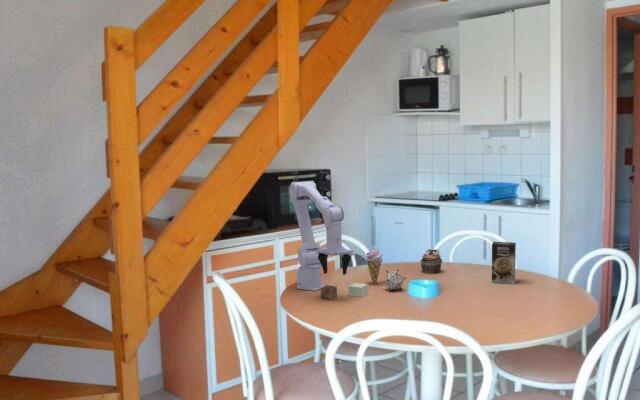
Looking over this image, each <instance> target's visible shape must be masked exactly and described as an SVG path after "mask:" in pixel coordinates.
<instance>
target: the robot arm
mask: <svg viewBox="0 0 640 400" xmlns="http://www.w3.org/2000/svg"><path fill="white" fill-rule="evenodd" d="M288 191H289V192H288V193H289V196H290V201H291V204H293V205H294V210H295V213H296V219H297V224H298V227H299V232H300V237H301V238H300V239H301V243H302V245H300V246H299V248H298V249H297V260H298V265H300V266H298V268H297V271H296V281H297V282H296V284H297V286H296V289H298V290H299V289H300V290H307V291H313V292H314V291H318V290H321V288H322V287H324V286H326V284H322V271H323V274H324V275H326V274H328V256H340V257H341V263H342V275H343V276H345V275H346V274H347V273H348V271H347V270H348V266H349V263H350V261H351V259H352V257H353V256H354V250H353V249H344V248H343V244H342V243H343V241H342V221H344V217H345V211H344V209H343V208H342V206H340V205H335V204H334V203H333V202H332V201H331V200H330V199H329V197H328V196H322V195H321V194H320V192H319V191H318V189H317V184H316V183H315V181H314V180H305V181H292V182H291V183H290V185H289V189H288ZM311 202H314V203H315V208H316V209H317V210H318V212H320V214H321V215H322V219H323V222H324V227H325V233H326V248H322V245H321V244H319V243H317V241H316V240H315V236H314V232H313V228H312V223H311V217H310V213H309V209H308V204H309V203H311ZM321 267H322V268H321ZM321 269H322V271H321Z"/></svg>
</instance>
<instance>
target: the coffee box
mask: <svg viewBox="0 0 640 400" xmlns="http://www.w3.org/2000/svg"><path fill="white" fill-rule="evenodd" d="M516 244H517V243H516V242H510V241H509V242H506V241H493V242H492V243H491V283H492V284H493V283H494V284H509V285H515V283H516V257H517V255H516V253H517V252H516V249H517V248H516V247H517V245H516Z"/></svg>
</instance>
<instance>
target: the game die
mask: <svg viewBox="0 0 640 400" xmlns="http://www.w3.org/2000/svg"><path fill="white" fill-rule="evenodd" d="M385 272H386V275H385V277H384V281H381V283H382V284H385V285H386V287H388V288H389V292H391V291H392V290H401V291H402V290H403V289H402V286H403V283H404V281H405V280H406V279H407V277H404V276H403V275H402V274H401V273H400V272H399V269H398V268H397V270H392V271H388V270H387V269H386V270H385Z"/></svg>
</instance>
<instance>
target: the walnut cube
mask: <svg viewBox="0 0 640 400" xmlns="http://www.w3.org/2000/svg"><path fill="white" fill-rule="evenodd" d="M337 298H338V287H337V285H329V284H328V285H327V284H325V286H324V287H322V288H321V289H320V300H323V301H333V300H335V299H337Z"/></svg>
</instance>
